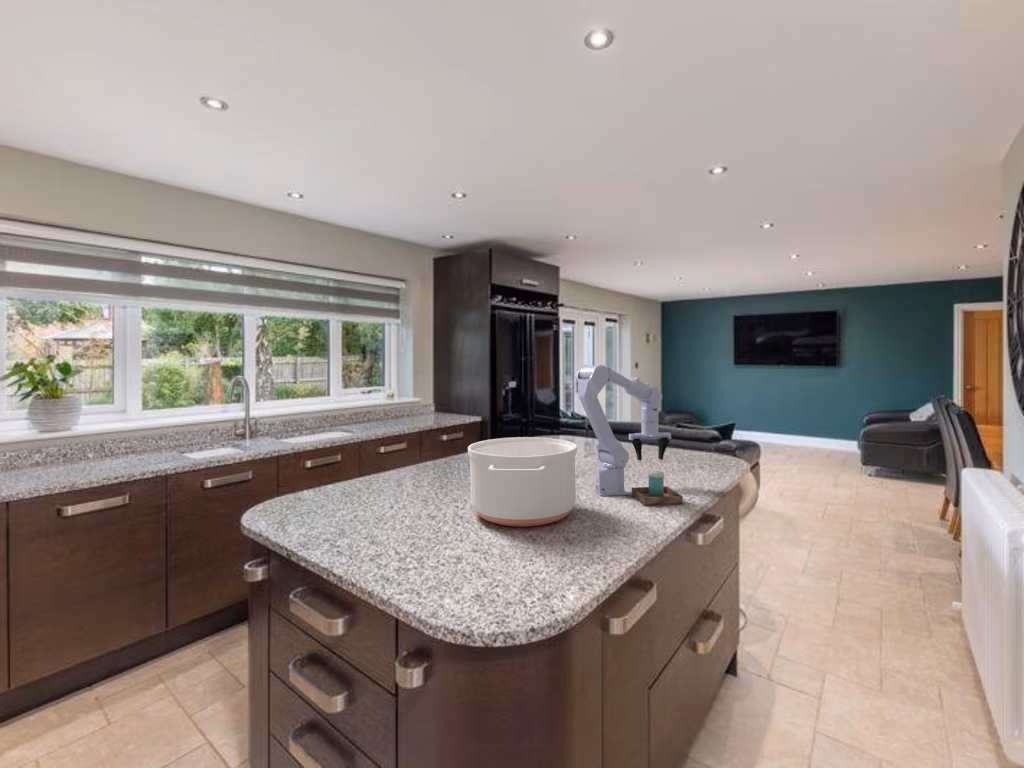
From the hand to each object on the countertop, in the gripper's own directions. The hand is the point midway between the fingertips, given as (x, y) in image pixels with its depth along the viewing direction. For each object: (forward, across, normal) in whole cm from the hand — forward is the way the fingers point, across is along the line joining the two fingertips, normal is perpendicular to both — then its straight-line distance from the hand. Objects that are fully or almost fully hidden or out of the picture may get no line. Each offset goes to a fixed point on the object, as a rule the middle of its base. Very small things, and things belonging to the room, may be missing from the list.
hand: (650, 459), depth 171 cm
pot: (+10, -47, -24) cm, 54 cm away
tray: (+9, -4, -16) cm, 19 cm away
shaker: (+9, -4, -16) cm, 19 cm away
